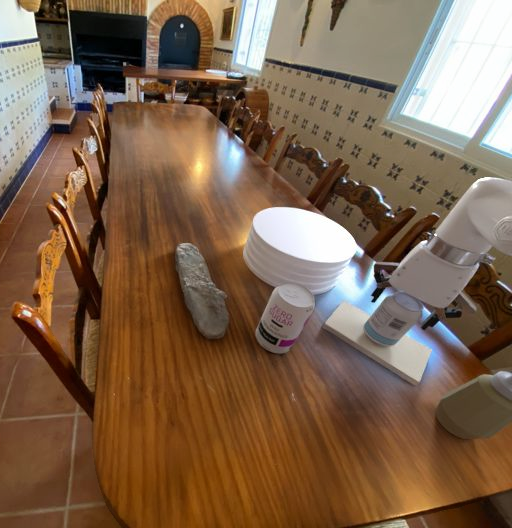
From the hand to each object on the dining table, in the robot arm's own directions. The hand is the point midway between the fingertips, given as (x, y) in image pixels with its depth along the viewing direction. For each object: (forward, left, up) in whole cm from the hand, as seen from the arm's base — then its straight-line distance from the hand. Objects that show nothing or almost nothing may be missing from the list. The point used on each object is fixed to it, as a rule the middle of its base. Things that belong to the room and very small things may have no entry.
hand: (398, 312), depth 64 cm
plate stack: (+28, -11, -10) cm, 32 cm away
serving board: (0, 0, -10) cm, 10 cm away
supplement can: (+16, +19, -10) cm, 27 cm away
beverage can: (0, 0, -9) cm, 9 cm away
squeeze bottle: (-17, +9, -10) cm, 22 cm away
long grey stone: (+39, +20, -10) cm, 45 cm away
